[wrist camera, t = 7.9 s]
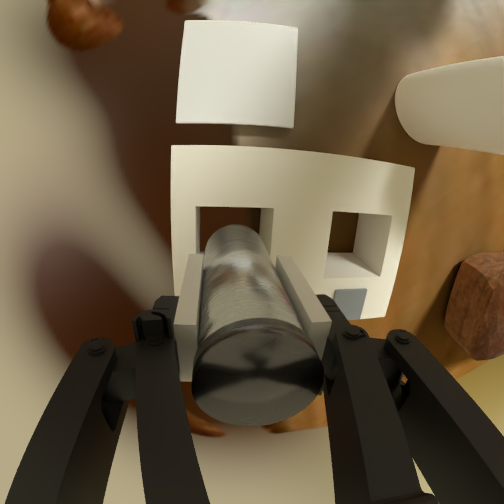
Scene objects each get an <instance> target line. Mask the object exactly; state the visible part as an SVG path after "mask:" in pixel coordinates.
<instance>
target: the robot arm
mask: <svg viewBox="0 0 504 504" xmlns="http://www.w3.org/2000/svg"><path fill="white" fill-rule="evenodd" d="M275 269H276V271H277V273H278V275H279V278H280V280H281V282H282V284H283V286H284V288H285V291H286V293H287V295H288V297H289V299H290V301H291V304H292V306H293V308H294V310H295V312H296V315H297V317H298V319H299V321H300V323H301V326H302V328H303V330H304V332H305V333H306V334H307V335H308V336H309V338H310V339H311V341H312V342H313V345H314V347H315V349H316V351H317V353H318V355H319V357H320V360H321V362H322V364H323V367H324V382H323V385H322V388H321V390H320V392H319V395H321V394H322V391H323V392H324V399H325V407H326V415H327V423H328V431H329V440H330V450H331V459H332V469H333V480H334V493H335V504H504V436H503V435H502V434H501V433H500V431H499V430H498V429H497V428H496V427H495V425H494V424H493V423H492V422H491V420H490V419H489V418H488V417H487V416H486V414H485V413H484V412H483V411H482V410H481V408H480V407H479V406H478V405H477V404H476V403H475V401H474V400H473V399H472V398H471V397H470V396H469V395H468V393H467V392H466V391H465V390H464V389H463V388H462V387H461V386H460V384H459V383H458V382H457V381H456V380H455V379H454V378H453V376H452V375H451V374H450V373H449V372H448V371H447V370H446V369H445V368H444V367H443V366H442V364H441V363H440V362H439V361H438V360H437V359H436V358H435V357H434V356H433V355H432V354H431V353H430V352H429V351H428V349H427V348H426V347H425V346H424V345H423V344H422V343H421V342H420V341H419V340H418V339H417V338H416V337H415V336H414V335H413V334H411V333H410V332H407V331H406V330H401V329H395V330H391V331H390V332H389V333H388V334H387V337H386V339H377V338H369V335H368V334H367V332H366V331H365V330H364V329H362V328H361V327H358V326H355V325H351V324H350V323H349V321H348V320H347V318H346V317H345V315H344V314H343V313H342V311H341V310H340V308H339V307H337V304H336V303H335V301H334V300H333V299H332V298H330V297H329V296H327V295H326V294H318V295H315V293H314V292H313V290H312V288H311V287H310V285H309V284H308V282H307V281H306V279H305V277H304V276H303V274H302V273H301V271H300V270H299V268H298V266H297V265H296V263H295V262H294V260H293V259H292V257H291V256H290V255H277V256H276V267H275ZM202 281H203V254H189V257H188V261H187V265H186V269H185V274H184V278H183V282H182V287H181V291H180V296H161V297H160V298H158V299H157V300H156V301H155V303H154V306H153V309H152V310H147V311H143V312H141V313H138V314H137V315H136V316H135V317H134V318H133V320H132V323H133V329H134V333H135V338H136V343H133V344H131V345H126V346H121V347H115V346H114V344H113V342H112V341H111V340H110V339H107V338H104V337H96V338H92V339H89V340H88V341H86V342H84V343H83V344H82V345H81V347H80V348H79V350H78V352H77V353H76V355H75V357H74V358H73V360H72V362H71V363H70V365H69V367H68V369H67V370H66V372H65V374H64V376H63V377H62V379H61V381H60V383H59V385H58V386H57V388H56V390H55V392H54V394H53V396H52V398H51V399H50V401H49V403H48V405H47V407H46V409H45V411H44V413H43V415H42V417H41V419H40V421H39V423H38V425H37V427H36V429H35V431H34V433H33V435H32V438H31V440H30V442H29V444H28V446H27V448H26V451H25V453H24V455H23V458H22V460H21V462H20V465H19V467H18V469H17V472H16V474H15V477H14V480H13V482H12V485H11V488H10V490H9V493H8V496H7V499H6V502H5V504H103V500H104V496H105V491H106V487H107V482H108V478H109V474H110V469H111V466H112V461H113V458H114V454H115V450H116V446H117V443H118V439H119V435H120V432H121V428H122V425H123V421H124V418H125V415H126V411H127V408H128V404H129V400H131V399H136V411H137V429H138V442H139V452H140V463H141V472H142V479H143V487H144V493H145V499H146V504H210V502H209V499H208V496H207V492H206V489H205V486H204V482H203V478H202V475H201V471H200V467H199V464H198V460H197V456H196V452H195V448H194V444H193V440H192V436H191V431H190V427H189V423H188V418H187V413H186V409H185V404H184V399H183V394H182V389H181V383H180V381H187V382H192V370H193V360H194V356H195V354H196V351H197V346H198V331H199V317H200V304H201V292H202ZM179 375H180V378H179ZM403 375H405V376H406V378H407V379H408V380H407V382H406V384H405V383H404V382H403V381H402V380H401V379H402V377H403ZM412 458H413V459H414V461H415V463H416V464H417V466H418V468H419V469H420V471H421V473H422V474H423V476H424V478H425V479H426V481H427V483H428V485H429V486H430V488H431V490H432V491H433V493H434V495H435V496H434V495H433V494H429V493H424V492H423V491H422V489H421V487H420V484H419V480H418V476H417V473H416V469H415V466H414V462H413V459H412Z"/></svg>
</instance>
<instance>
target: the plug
mask: <svg viewBox="0 0 504 504" xmlns="http://www.w3.org/2000/svg"><path fill="white" fill-rule="evenodd" d="M323 382H324V367H323V364H322V362H321V360H320V357H319V355H318V353H317V351H316V349H315V347H314V345H313V342H312V341H311V339H310V338H309V336H308V335H307V334H306V333H305V332H304V330H303V328H302V326H301V323H300V321H299V319H298V317H297V315H296V312H295V310H294V308H293V306H292V304H291V301H290V299H289V297H288V295H287V293H286V291H285V288H284V286H283V284H282V282H281V280H280V278H279V275H278V273H277V271H276V269H275V267H274V265H273V263H272V260H271V258H270V256H269V254H268V252H267V250H266V248H265V245H264V243H263V241H262V239H261V237H260V236H259V235H258V234H257V233H256V232H255V231H254V230H253V229H251V228H249V227H247V226H244V225H238V224H236V225H235V224H233V225H227V226H224V227H222V228H220V229H218V230H217V231H216V232H214V233H213V235H212V236H211V237H210V238H209V240H208V242H207V245H206V248H205V257H204V267H203V281H202V292H201V304H200V317H199V331H198V346H197V351H196V354H195V356H194V360H193V370H192V394H193V397H194V400H195V401H196V403H197V405H198V406H199V407H200V408H201V409H202V410H203V411H204V412H205V413H206V414H208V415H209V416H211V417H213V418H215V419H217V420H219V421H221V422H224V423H228V424H232V425H238V426H262V425H268V424H273V423H276V422H280V421H282V420H285V419H287V418H290V417H292V416H294V415H295V414H297V413H299V412H300V411H302V410H303V409H305V408H306V407H307V406H308V405H309V404H310V403H311V402H312V401H313V400H314V399H315V398H316V396H317V395H318V393H319V392H320V390H321V388H322V385H323Z"/></svg>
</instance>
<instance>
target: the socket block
mask: <svg viewBox="0 0 504 504" xmlns="http://www.w3.org/2000/svg"><path fill="white" fill-rule="evenodd" d="M414 172H415V168H414V167H409V166H404V165H399V164H393V163H388V162H382V161H377V160H371V159H364V158H358V157H351V156H344V155H337V154H329V153H320V152H311V151H302V150H291V149H279V148H265V147H247V146H220V145H215V146H214V145H172V146H171V237H172V261H173V278H174V294H175V296H180V291H181V287H182V282H183V278H184V274H185V269H186V265H187V261H188V257H189V254H203V267H204V257H205V251H200V206H209V207H254V208H261V214H260V230H259V236H260V237H261V239H262V241H263V243H264V245H265V248H266V250H267V252H268V254H269V256H270V258H271V260H272V263H273V265H274V267H276V256H277V255H290V256H291V257H292V259H293V260H294V262H295V263H296V265H297V266H298V268H299V270H300V271H301V273H302V274H303V276H304V277H305V279H306V281H307V282H308V284H309V285H310V287H311V288H312V290H313V292H314V293H315V295H318V294H326V295H327V296H329V297H330V298H332V299H333V300H334V301H335V303H336V304H337V307H339V308H340V310H341V311H342V313H343V314H344V315H345V317H346V318H347V320H355V319H366V318H376V317H385V314H386V311H387V307H388V304H389V300H390V297H391V293H392V289H393V285H394V281H395V277H396V273H397V269H398V265H399V261H400V256H401V252H402V247H403V242H404V237H405V232H406V227H407V221H408V215H409V209H410V203H411V196H412V189H413V181H414ZM333 211H339V212H353V213H359V216H358V223H357V230H356V236H355V242H354V248H353V253H328V252H327V251H328V244H329V237H330V230H331V222H332V214H333Z"/></svg>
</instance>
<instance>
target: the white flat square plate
mask: <svg viewBox="0 0 504 504" xmlns="http://www.w3.org/2000/svg"><path fill="white" fill-rule="evenodd" d="M297 40H298V28H296V27H289V26H283V25H275V24H266V23H256V22H244V21H224V20H189V21H185V27H184V34H183V42H182V50H181V60H180V70H179V82H178V95H177V112H176V123H177V124H237V125H255V126H269V127H281V128H293V127H294V110H295V90H296V68H297Z"/></svg>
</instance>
